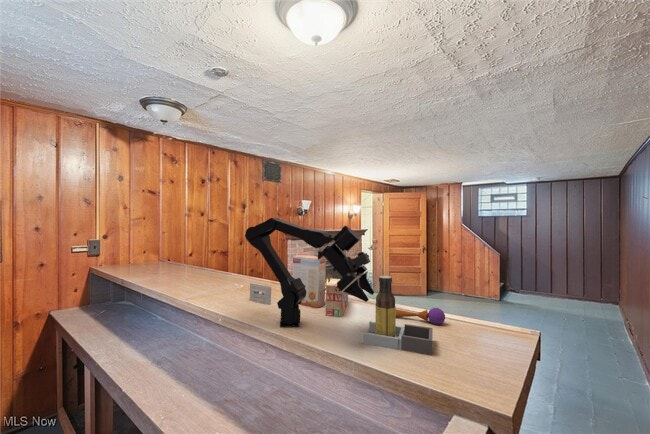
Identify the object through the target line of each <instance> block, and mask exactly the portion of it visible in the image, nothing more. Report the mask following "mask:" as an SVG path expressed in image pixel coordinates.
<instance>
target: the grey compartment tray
mask: <svg viewBox="0 0 650 434" xmlns="http://www.w3.org/2000/svg"><path fill="white" fill-rule="evenodd" d="M368 324H369V325H368V332H365V331H363V332H362V344H364V345H365V344H366V345H371V346H378V347H382V348H389V349H395V350H400V351H405V352H412V353H415V354H416V353H417V354H423V355H428V356H433V337H434V336H433V333H434V331H433V327H428V326H421V325H414V324H407V323H405V324H404V326H400V325H396V334H395V337H390V336H384V335H378V334H376V321H375V322H374V321H369V323H368Z"/></svg>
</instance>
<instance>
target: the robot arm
mask: <svg viewBox="0 0 650 434" xmlns="http://www.w3.org/2000/svg"><path fill="white" fill-rule="evenodd" d="M275 231H277V232H280V233H284V234H285V235H290V236H292V237H295V238H297V239H300V240H302V241H304V243H305V244H307V245H308V246H310V247H311V248H314V249H320V248H323V250H318V251H317V257H318V259H322V258H323V257H325V258H326V262H328V263H329V265H331V267H332V271H333V272H337V274H338V275H339V276H340V277H341V278H339V279H340V280H339V281H338V282H337V287H338V289H339V290H340V291H342V290H344V289H345V287H346V289H345V290H344V291H343V292H346V293H348V295H351V296H353V297H355V298H358V299H359V300H362V301H363V302H365V303H367V302H368V301H369V296H367V294H366V293H365V292H367V293H368V294H370V295H372V296H373V295H374V294H375V290H374V289H373V287H372V284H370V281H369V279H368V272H369V271H368V268H367V267H366V266H365V265H368V264H369V263H371V260H370V255H369V254H368V253H367V252H365V251H361V252H358V253H357V256H356V257H354V258H352V257H351V256H349V255H348V256H347V255H346V254H345V253H344V252H345V251H346V252H349V251H350V250H351V249H352V248H353V247H354V246H355V245H356V244H357V243H359V242H360V241H361V237H360V236H359V234H358V233H357V232H356V231H354V230H353V229H352V228H350V227H349V226H348V225H344V226H343V227H342V228H341V230H340V231H338V233H336V234H335V235H334V234H330V233H329V232H328V231H326V230H320V229H313V228H306V227H303V226H300V225H297V224H294V223H292V222H290V221H286V220H282V219H280V218H278V217H270V218H269V219H267V220H265V221H263V222H261V223H258V224H256V225H254V226H250V227H248V228H247V229H246V230H245V234H244V236H245V239H246V241H247V243H249V244H250V245H251V247H253V248H255V249H256V250H258V251H259V253H260V255H261V256H262V257H263V259H264V261H265V262H266V264H267V265H268V267H269V268H270V270H271V272H272V273H273V275H274V277H275V278H276V279H277V281H278V282H279V284H280V291H281V295H282V297H281V298H280V299H279V300H278V301H277V302H276V303H277V307H278V309H280V322H279V327H280V328H281V327H294V328H295V327H299V326H300V323H301V309H300V305H302V304H301V302H302V300H303V299H304V298H305V297H306V293H307V292H306V289H305V287H306V286H305V285H304V284H303V283H302V281H301V279H300V278H297V279H295V278H293V275H291V273H290V271H289V270H288V268H287V267H286V265H285V264H284V262H283V260H282V259H281V258H280V255H278V253H277V252H276V250H275V249H274V247H273V246H272V243H271V242H272V241H271V236H270V235H271V234H273V233H274V232H275ZM332 243H333V244H332ZM329 244H331V245H329Z"/></svg>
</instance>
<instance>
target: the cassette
mask: <svg viewBox="0 0 650 434" xmlns="http://www.w3.org/2000/svg"><path fill="white" fill-rule="evenodd" d="M260 292H261V293H260ZM249 301H250V302H251V301H252V302H255V303H259V304H264V305H267V306H268V305H270V306H271V305H272V286H270V285H265V284H259V283H256V282H255V283H254V282H250V283H249Z"/></svg>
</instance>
